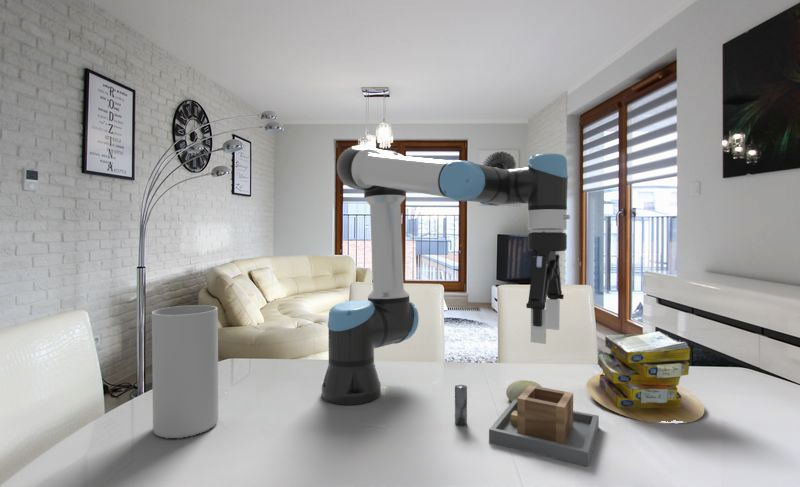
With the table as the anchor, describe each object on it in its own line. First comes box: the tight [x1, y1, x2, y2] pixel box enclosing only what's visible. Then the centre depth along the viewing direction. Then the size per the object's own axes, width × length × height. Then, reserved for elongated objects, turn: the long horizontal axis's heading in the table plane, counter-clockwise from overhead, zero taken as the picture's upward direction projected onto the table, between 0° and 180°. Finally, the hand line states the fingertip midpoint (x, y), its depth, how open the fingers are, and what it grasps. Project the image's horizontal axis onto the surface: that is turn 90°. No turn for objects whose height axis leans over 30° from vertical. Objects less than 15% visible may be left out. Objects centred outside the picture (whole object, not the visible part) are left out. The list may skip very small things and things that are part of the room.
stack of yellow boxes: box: [585, 331, 705, 424], centre depth 105 cm, size 25×25×17 cm
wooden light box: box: [511, 385, 574, 444], centre depth 88 cm, size 9×11×7 cm
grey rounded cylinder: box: [454, 384, 468, 427], centre depth 93 cm, size 3×3×8 cm
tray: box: [488, 399, 600, 467], centre depth 88 cm, size 18×18×2 cm
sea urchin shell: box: [505, 379, 542, 403], centre depth 106 cm, size 9×8×8 cm
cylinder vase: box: [151, 304, 219, 439], centre depth 91 cm, size 12×12×25 cm
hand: (545, 335), depth 88 cm, fingers open, 13 cm apart
